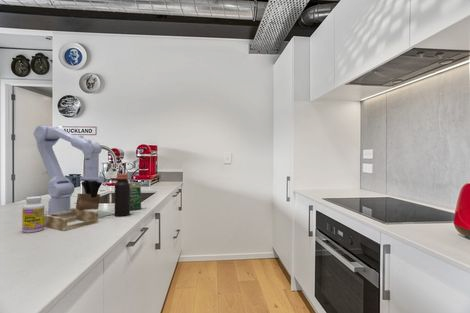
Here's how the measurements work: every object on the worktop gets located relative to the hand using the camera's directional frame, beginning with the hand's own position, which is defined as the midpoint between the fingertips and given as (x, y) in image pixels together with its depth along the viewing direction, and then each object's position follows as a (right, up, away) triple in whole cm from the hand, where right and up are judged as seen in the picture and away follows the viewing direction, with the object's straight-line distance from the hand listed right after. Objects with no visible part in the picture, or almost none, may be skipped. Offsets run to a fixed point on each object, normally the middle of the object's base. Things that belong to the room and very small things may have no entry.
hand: (91, 196), depth 121 cm
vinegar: (+12, -10, +5) cm, 16 cm away
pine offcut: (-8, -10, -10) cm, 16 cm away
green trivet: (0, -10, +4) cm, 10 cm away
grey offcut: (-7, -8, -10) cm, 15 cm away
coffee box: (+13, -10, +17) cm, 23 cm away
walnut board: (-1, -5, -2) cm, 6 cm away
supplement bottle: (-10, -10, -22) cm, 26 cm away
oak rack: (-3, -10, -12) cm, 16 cm away
